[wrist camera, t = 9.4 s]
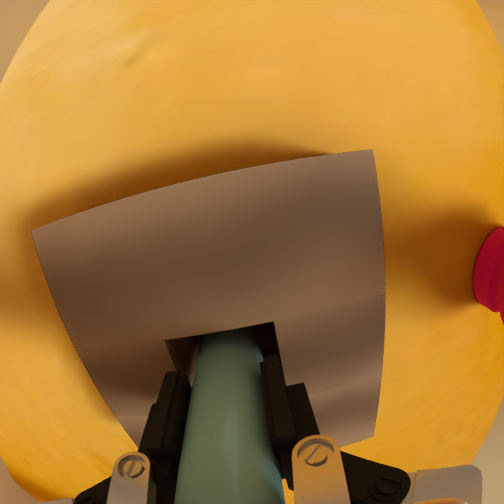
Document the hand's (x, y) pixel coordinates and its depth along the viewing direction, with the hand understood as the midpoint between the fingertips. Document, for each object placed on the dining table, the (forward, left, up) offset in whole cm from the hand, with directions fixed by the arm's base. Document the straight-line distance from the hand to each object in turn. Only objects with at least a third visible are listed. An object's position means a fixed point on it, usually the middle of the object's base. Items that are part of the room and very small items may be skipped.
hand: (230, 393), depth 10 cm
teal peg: (0, 0, -4) cm, 4 cm away
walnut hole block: (0, 0, -5) cm, 5 cm away
